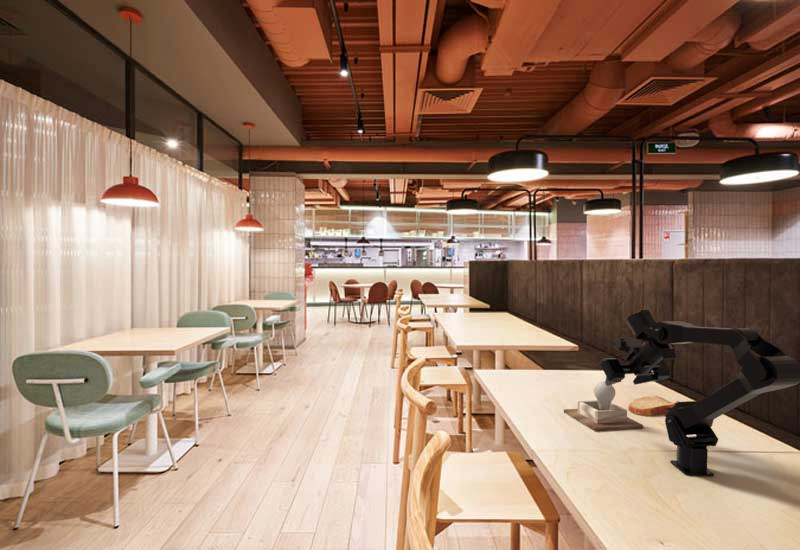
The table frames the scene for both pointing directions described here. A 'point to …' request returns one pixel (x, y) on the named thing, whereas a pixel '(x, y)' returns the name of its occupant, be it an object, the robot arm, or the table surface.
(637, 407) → the slice of bread
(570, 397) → the table surface
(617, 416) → the socket board
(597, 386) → the lightbulb
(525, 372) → the table surface
